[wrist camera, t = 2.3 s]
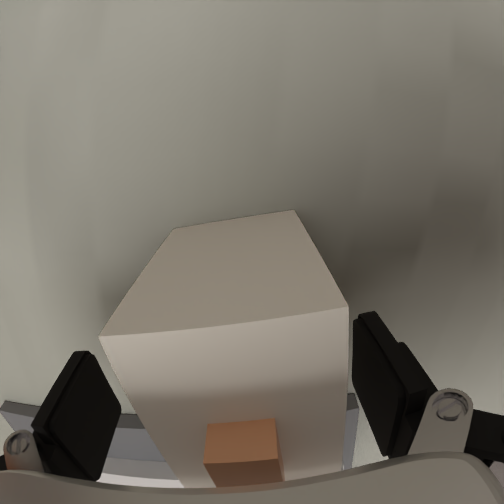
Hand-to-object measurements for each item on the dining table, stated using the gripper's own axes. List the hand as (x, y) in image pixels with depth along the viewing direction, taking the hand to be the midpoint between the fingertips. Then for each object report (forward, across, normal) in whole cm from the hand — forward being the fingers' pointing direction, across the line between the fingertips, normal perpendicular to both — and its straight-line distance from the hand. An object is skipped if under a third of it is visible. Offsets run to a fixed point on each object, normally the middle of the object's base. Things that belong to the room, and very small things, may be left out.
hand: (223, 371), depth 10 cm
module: (+4, -1, 0) cm, 4 cm away
